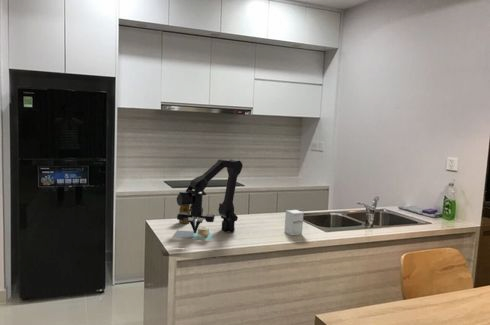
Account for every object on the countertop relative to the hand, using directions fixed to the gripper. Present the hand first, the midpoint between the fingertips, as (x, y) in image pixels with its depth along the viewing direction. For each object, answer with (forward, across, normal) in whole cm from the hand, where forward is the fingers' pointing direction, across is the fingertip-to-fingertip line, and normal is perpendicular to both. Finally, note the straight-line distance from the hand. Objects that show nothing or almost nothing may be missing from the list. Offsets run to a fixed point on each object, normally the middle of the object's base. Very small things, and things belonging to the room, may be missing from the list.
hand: (195, 233), depth 203 cm
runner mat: (+2, +1, 0) cm, 2 cm away
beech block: (+1, -4, 0) cm, 4 cm away
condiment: (+2, +10, -21) cm, 23 cm away
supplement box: (+1, -52, -17) cm, 55 cm away
